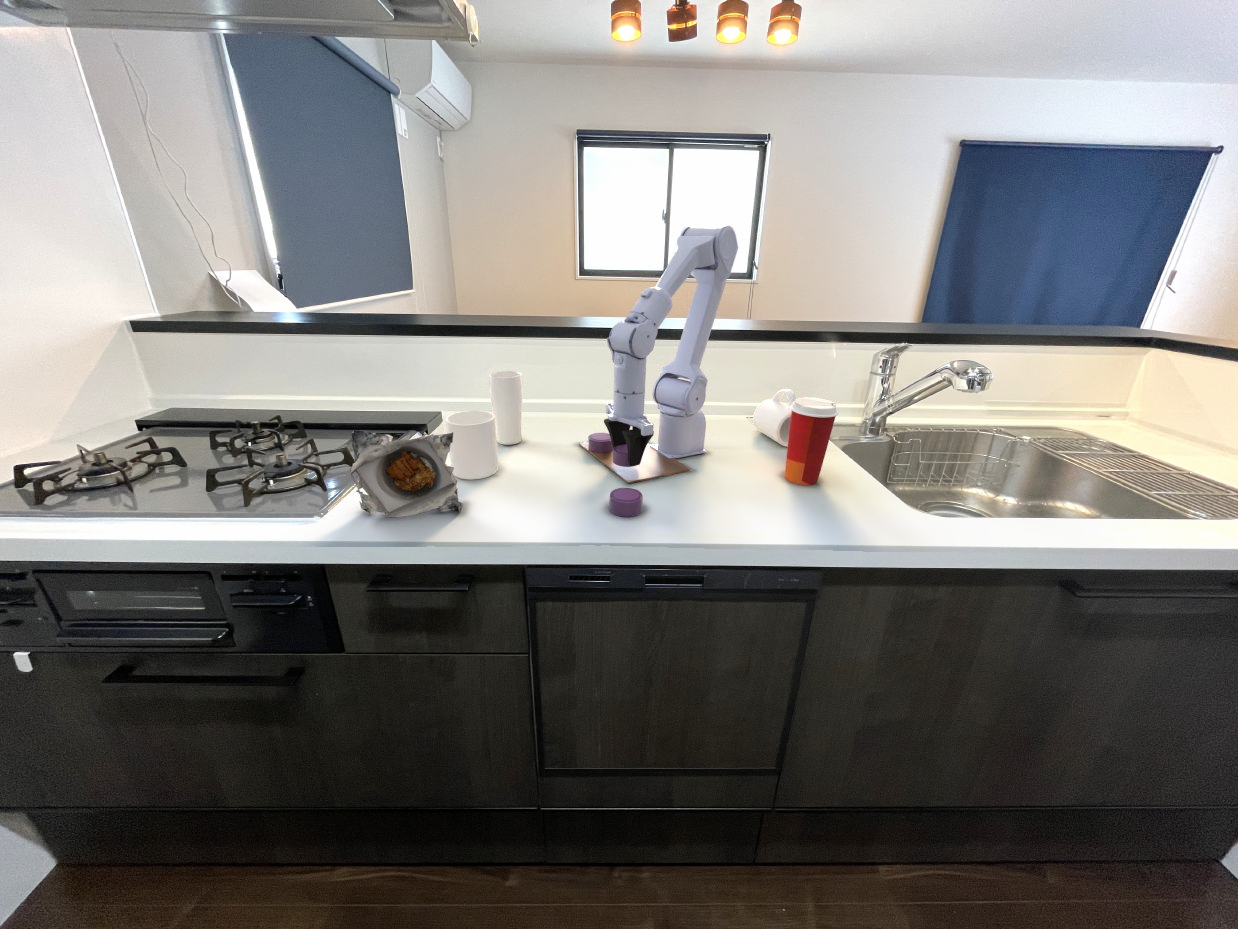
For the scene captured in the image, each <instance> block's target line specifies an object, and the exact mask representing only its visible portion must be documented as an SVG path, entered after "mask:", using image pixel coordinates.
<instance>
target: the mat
mask: <svg viewBox="0 0 1238 929" xmlns="http://www.w3.org/2000/svg"><path fill="white" fill-rule="evenodd" d="M650 445H652V444H651V443H650V442H648V444H647V446H646V448H645V451H644V453H643V456H642V460H641V463H640V465H637V466H633V467H622V466H618V465H616V464H614V463H613V451H611V452H608V453H595V452H592V451H590V450H589V449H588V441H583V442H578V446H580V447H581V448H583V449H584V450H585V451H586V452H588V454H590V455H591V456H592V457H594V458H595V459H597V461H598V462H600V463H601V464H603V465H604V466H605V467H606V468H607V469H609V470H610V471H611V472H612V473H614V475H616V476H617V477H618V478H620V479H621V480H622V481H623V482H625V483H626V484H628V485H631V484H635V483H639V482H645V481H650V480H653V479H659V478H663V477H668V476H673V475H678V474H683V473H686V472H687V473H688V472H691V471H692V469H691V468H690V467H688V466H687V465H685V464H684V463H682V462H681V461H679V460H678V459H677V458H676V459H674V458H672V459H669V458H667V457H666V456H664V455H662V454H661V453H659V452H658V451H656V450H654V449H653V448H651V447H650Z"/></svg>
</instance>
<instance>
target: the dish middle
mask: <svg viewBox="0 0 1238 929" xmlns="http://www.w3.org/2000/svg"><path fill="white" fill-rule="evenodd" d="M613 463H614V464H616V465H618V466H622V467H633V466H630V465H629V462H628V451H627V444H622V445H617V446H615V447H614V448H613ZM635 466H637V465H635Z"/></svg>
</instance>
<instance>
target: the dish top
mask: <svg viewBox="0 0 1238 929" xmlns="http://www.w3.org/2000/svg"><path fill="white" fill-rule="evenodd" d="M587 439H588V440H587V442H588V449H589V450H590V451H592V452H595V453H608V452H611V451H613V446H612V442H611V437H610V434H609V432H595V433H590V434H589V435H588V437H587Z"/></svg>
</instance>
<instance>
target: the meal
mask: <svg viewBox="0 0 1238 929" xmlns="http://www.w3.org/2000/svg"><path fill="white" fill-rule="evenodd" d="M351 439H352V440H351V446H352V449H353V457H354V463H352V466H351V470H349V471H350V476H351V479H352V480H353V482H354V485H355V487H356V489H357V490H355V492H356V493H357V494H359V496H360V501H359V506H360V509H361V510H363V511H365V512H367V513H368V514H376V513H382V514H384V515H385V518H386V519H387V518H389V519H390V518H401V517H410V516H415V515H420V514H422V513H423V514H424V513H426V512H430V511H437V512H441V511H449V510H452V511H456V512H458V513H461V512H462V510H463V509H462V508H463V505H464V504H463V502H461V501H459V494H458V492H459V490H458V488H457V484H458V480H457V479H456V476H455V475H454V474H453V470H454V467H451V465H450V466H449V465H447V464H446V463H447V459H448V454H450V453H449V451H450V446H451V443H452V442H453V432H452V433H448V434H447V433H442V434H434V433H432V434H427V433H425V434H424V435H421V436H419V437H417V438H411V439H397V440H393V439H394V436H392V435H391V434H388V433H376V432H370V431H365V430H361V429H360V430H359V429H357V430H356V429H354V430H353V431H351ZM354 473H356V475H357V476H358V477H359V478H358V480H357V478H356V477H355V476H354ZM361 489H362V490H364V492H365V493H366V494H365V493H364V492H363V491H361Z"/></svg>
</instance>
